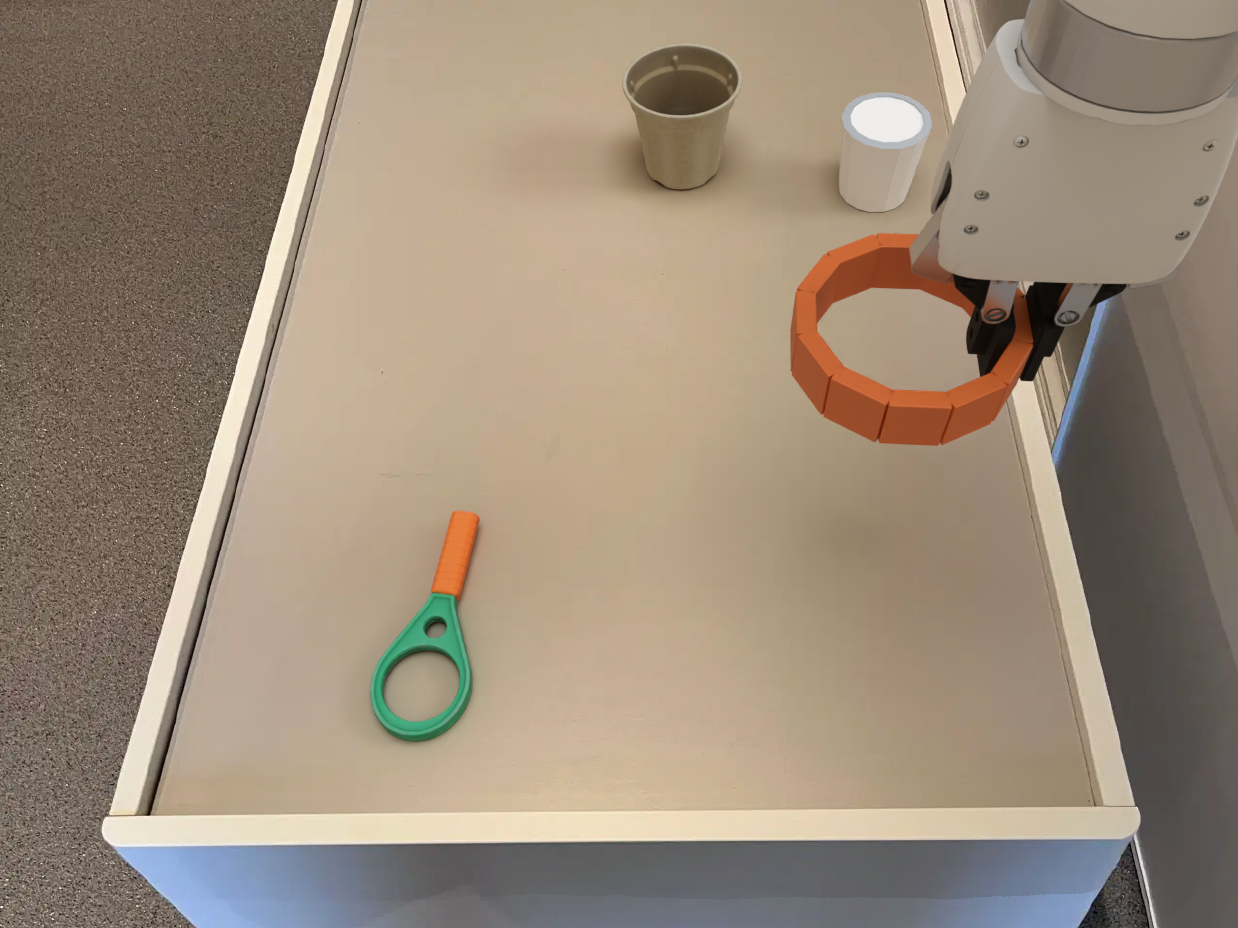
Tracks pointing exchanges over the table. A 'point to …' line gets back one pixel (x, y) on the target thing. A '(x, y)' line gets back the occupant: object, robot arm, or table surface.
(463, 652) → the magnifying glass
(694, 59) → the flower pot
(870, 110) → the white cylinder
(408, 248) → the table surface
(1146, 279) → the robot arm
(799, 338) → the ring
